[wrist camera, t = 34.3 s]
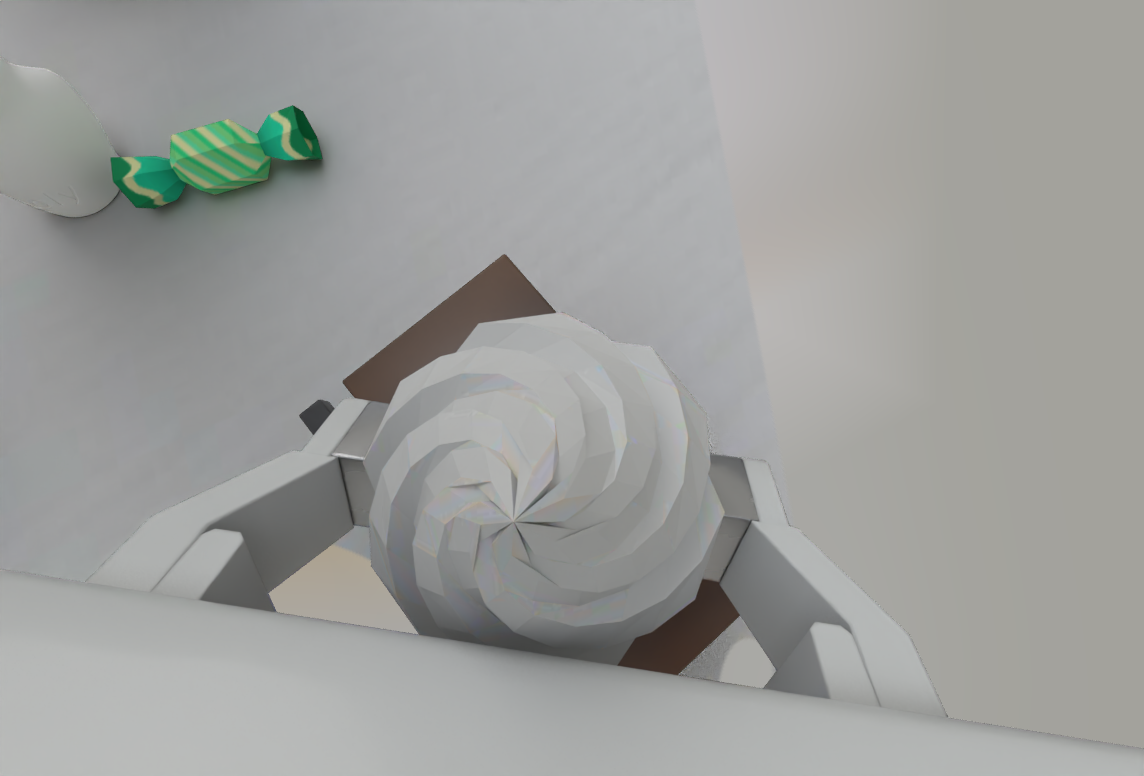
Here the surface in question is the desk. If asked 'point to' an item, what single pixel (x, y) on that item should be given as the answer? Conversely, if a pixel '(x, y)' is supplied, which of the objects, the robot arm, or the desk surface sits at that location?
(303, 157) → the candy
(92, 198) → the white pill-shaped post
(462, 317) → the cupboard
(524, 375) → the ice cream cone
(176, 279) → the desk surface
